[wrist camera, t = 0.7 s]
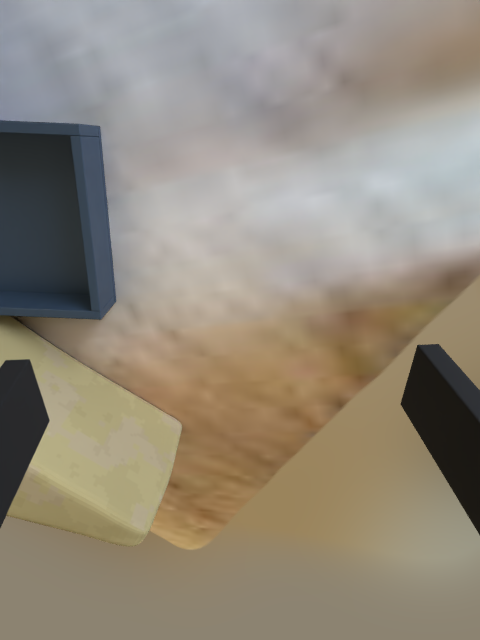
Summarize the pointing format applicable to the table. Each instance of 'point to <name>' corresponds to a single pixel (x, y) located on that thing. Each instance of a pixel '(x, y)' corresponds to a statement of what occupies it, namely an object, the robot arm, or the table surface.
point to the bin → (54, 222)
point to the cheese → (90, 448)
